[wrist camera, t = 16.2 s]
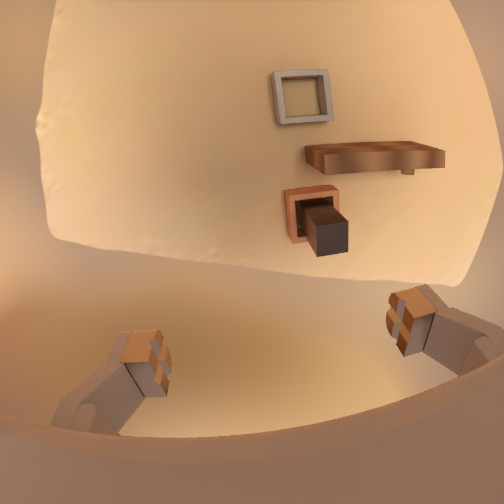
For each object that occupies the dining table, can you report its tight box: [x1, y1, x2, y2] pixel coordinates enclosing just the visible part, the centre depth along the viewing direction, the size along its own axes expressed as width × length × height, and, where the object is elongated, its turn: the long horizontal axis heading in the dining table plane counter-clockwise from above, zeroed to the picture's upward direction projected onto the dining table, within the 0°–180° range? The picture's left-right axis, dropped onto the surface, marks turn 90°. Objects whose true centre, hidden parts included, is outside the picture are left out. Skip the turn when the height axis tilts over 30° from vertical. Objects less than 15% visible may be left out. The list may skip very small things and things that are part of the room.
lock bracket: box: [285, 185, 339, 243], centre depth 43 cm, size 7×7×3 cm
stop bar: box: [296, 197, 348, 257], centre depth 39 cm, size 4×4×11 cm
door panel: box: [305, 141, 445, 175], centre depth 37 cm, size 18×4×9 cm, turn 97°
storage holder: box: [271, 69, 334, 124], centre depth 35 cm, size 7×7×3 cm
